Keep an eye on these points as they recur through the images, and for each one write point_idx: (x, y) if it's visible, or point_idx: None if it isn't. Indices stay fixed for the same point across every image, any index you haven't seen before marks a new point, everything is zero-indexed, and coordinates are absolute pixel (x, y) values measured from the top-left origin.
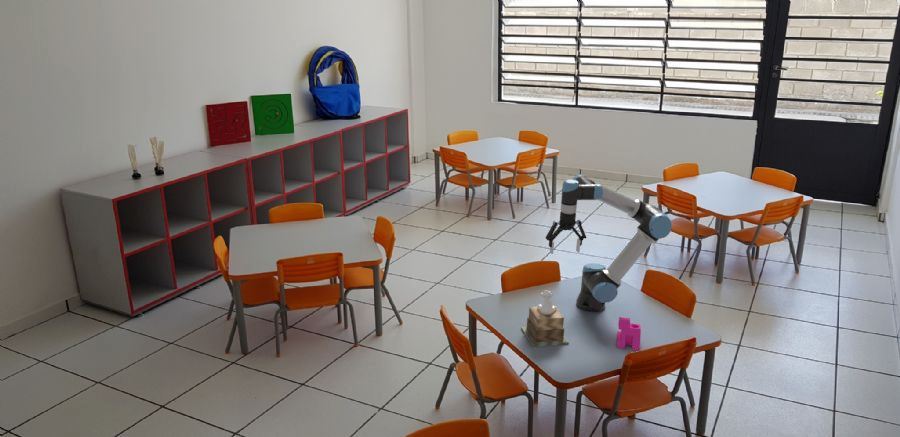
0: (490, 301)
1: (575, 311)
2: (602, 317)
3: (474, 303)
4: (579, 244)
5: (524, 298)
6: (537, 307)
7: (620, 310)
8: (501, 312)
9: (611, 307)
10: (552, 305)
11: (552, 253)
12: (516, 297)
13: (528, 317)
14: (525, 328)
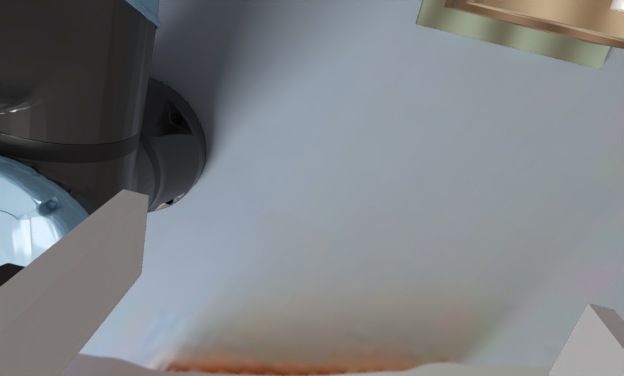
0: (540, 335)
1: (239, 118)
2: None
3: None
4: (39, 275)
5: (388, 303)
6: (621, 17)
7: None
8: (566, 239)
9: None
10: (501, 5)
11: (605, 313)
12: (414, 322)
13: (617, 46)
14: (594, 44)
